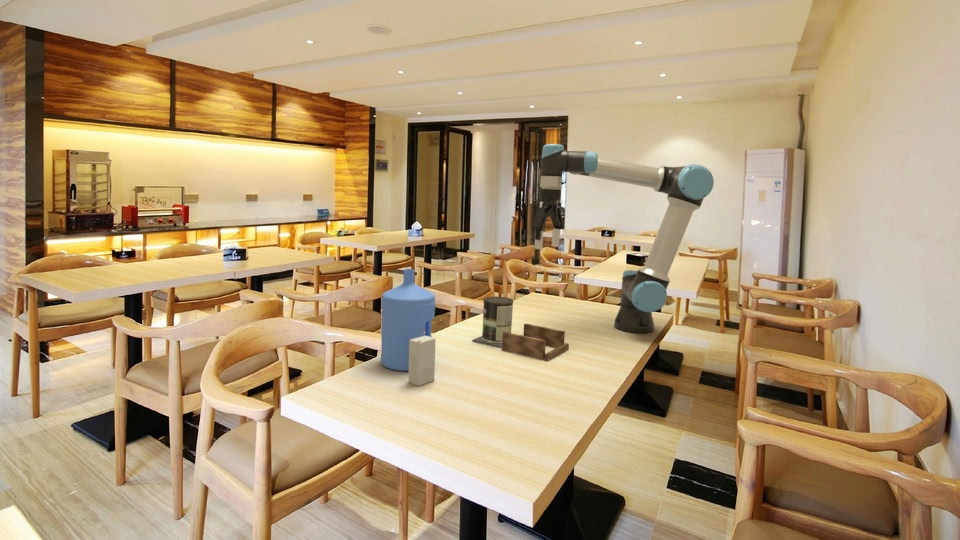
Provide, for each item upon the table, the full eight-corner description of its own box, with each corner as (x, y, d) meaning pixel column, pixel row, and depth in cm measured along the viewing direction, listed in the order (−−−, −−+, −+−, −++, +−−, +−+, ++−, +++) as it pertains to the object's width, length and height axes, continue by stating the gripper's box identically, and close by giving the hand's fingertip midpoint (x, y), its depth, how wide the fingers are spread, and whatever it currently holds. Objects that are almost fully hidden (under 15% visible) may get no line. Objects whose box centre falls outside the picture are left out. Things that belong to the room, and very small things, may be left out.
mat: (519, 340, 183) (520, 338, 183) (502, 348, 173) (502, 346, 173) (491, 334, 189) (491, 332, 189) (472, 341, 180) (472, 339, 180)
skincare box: (423, 376, 144) (424, 334, 143) (435, 381, 142) (436, 338, 140) (407, 382, 140) (407, 338, 138) (418, 387, 137) (419, 342, 135)
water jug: (390, 375, 145) (391, 275, 140) (374, 358, 158) (374, 266, 154) (442, 368, 152) (444, 273, 148) (422, 352, 166) (424, 265, 161)
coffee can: (480, 342, 177) (482, 301, 174) (483, 334, 187) (484, 295, 184) (510, 344, 176) (512, 303, 173) (512, 336, 186) (514, 297, 184)
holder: (568, 349, 175) (569, 332, 174) (547, 361, 162) (549, 342, 161) (524, 339, 184) (525, 323, 183) (501, 350, 171) (502, 332, 170)
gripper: (544, 188, 174) (540, 251, 178) (574, 189, 195) (570, 246, 198) (524, 187, 178) (521, 249, 182) (556, 189, 199) (552, 244, 202)
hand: (547, 247), depth 190 cm, fingers open, 13 cm apart
